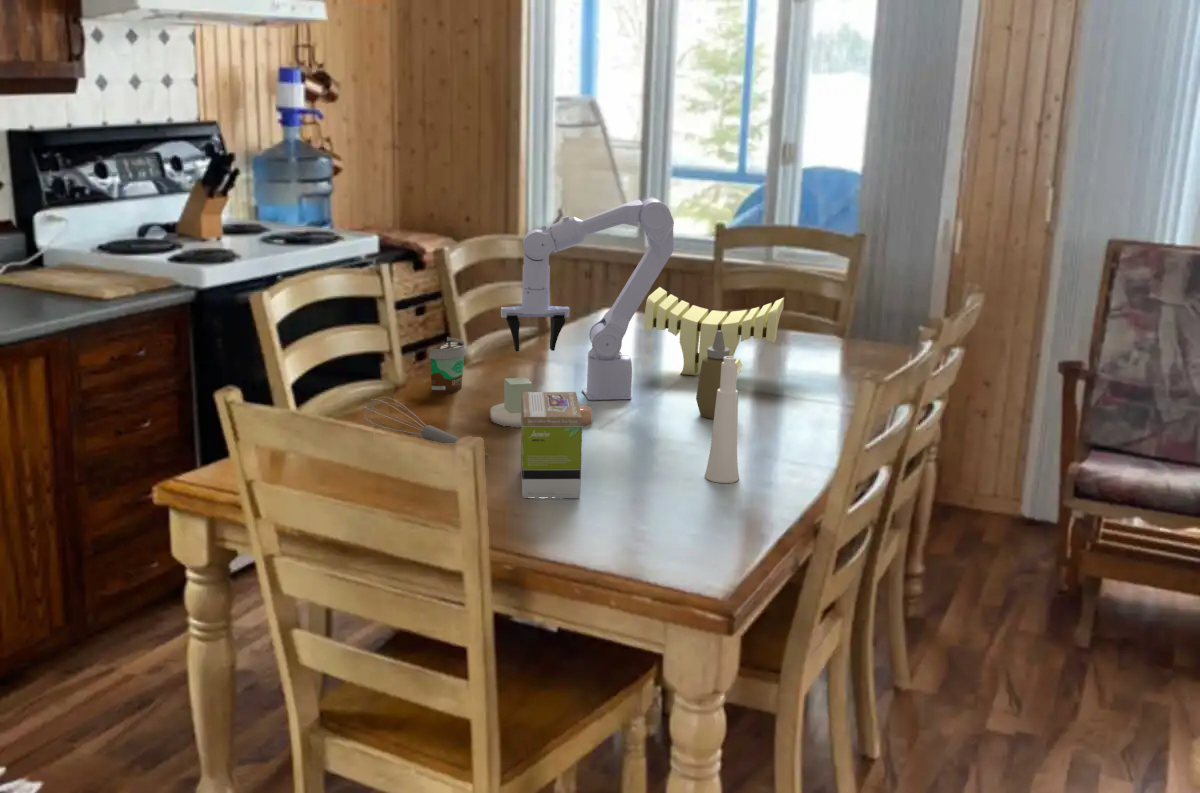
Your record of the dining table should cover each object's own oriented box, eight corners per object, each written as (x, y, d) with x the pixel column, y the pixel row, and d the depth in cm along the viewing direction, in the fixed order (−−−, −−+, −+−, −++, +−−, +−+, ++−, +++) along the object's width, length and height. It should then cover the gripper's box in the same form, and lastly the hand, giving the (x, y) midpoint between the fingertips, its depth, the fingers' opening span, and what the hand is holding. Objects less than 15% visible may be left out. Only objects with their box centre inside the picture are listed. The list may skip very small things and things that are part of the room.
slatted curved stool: (642, 373, 282) (645, 298, 277) (656, 358, 297) (659, 286, 292) (770, 386, 275) (776, 310, 270) (778, 370, 290) (784, 297, 285)
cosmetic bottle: (743, 482, 212) (752, 361, 206) (710, 484, 211) (718, 362, 205) (732, 471, 218) (741, 352, 212) (700, 472, 216) (708, 353, 210)
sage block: (525, 405, 246) (526, 377, 244) (531, 412, 242) (532, 383, 240) (504, 407, 244) (504, 378, 243) (509, 413, 240) (510, 384, 239)
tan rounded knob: (588, 419, 246) (589, 404, 245) (593, 426, 241) (594, 411, 241) (564, 419, 245) (565, 405, 244) (569, 427, 240) (569, 412, 240)
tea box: (519, 469, 215) (520, 389, 211) (575, 470, 215) (578, 390, 211) (520, 500, 200) (522, 414, 196) (581, 500, 201) (584, 415, 197)
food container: (456, 397, 257) (457, 351, 255) (429, 394, 258) (429, 349, 256) (474, 382, 269) (474, 339, 266) (447, 380, 270) (447, 336, 267)
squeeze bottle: (737, 413, 254) (743, 329, 249) (728, 423, 246) (734, 337, 241) (700, 408, 256) (705, 325, 251) (690, 418, 249) (695, 333, 244)
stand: (540, 410, 250) (540, 401, 249) (549, 426, 239) (549, 417, 239) (487, 412, 248) (487, 402, 247) (494, 428, 237) (494, 418, 237)
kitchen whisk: (478, 468, 215) (478, 434, 213) (357, 428, 236) (356, 396, 234) (502, 461, 219) (502, 427, 218) (381, 421, 240) (381, 391, 239)
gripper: (566, 283, 260) (564, 345, 264) (499, 283, 257) (498, 345, 261) (572, 290, 254) (570, 352, 258) (503, 290, 251) (502, 353, 255)
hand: (534, 349), depth 259 cm, fingers open, 7 cm apart
